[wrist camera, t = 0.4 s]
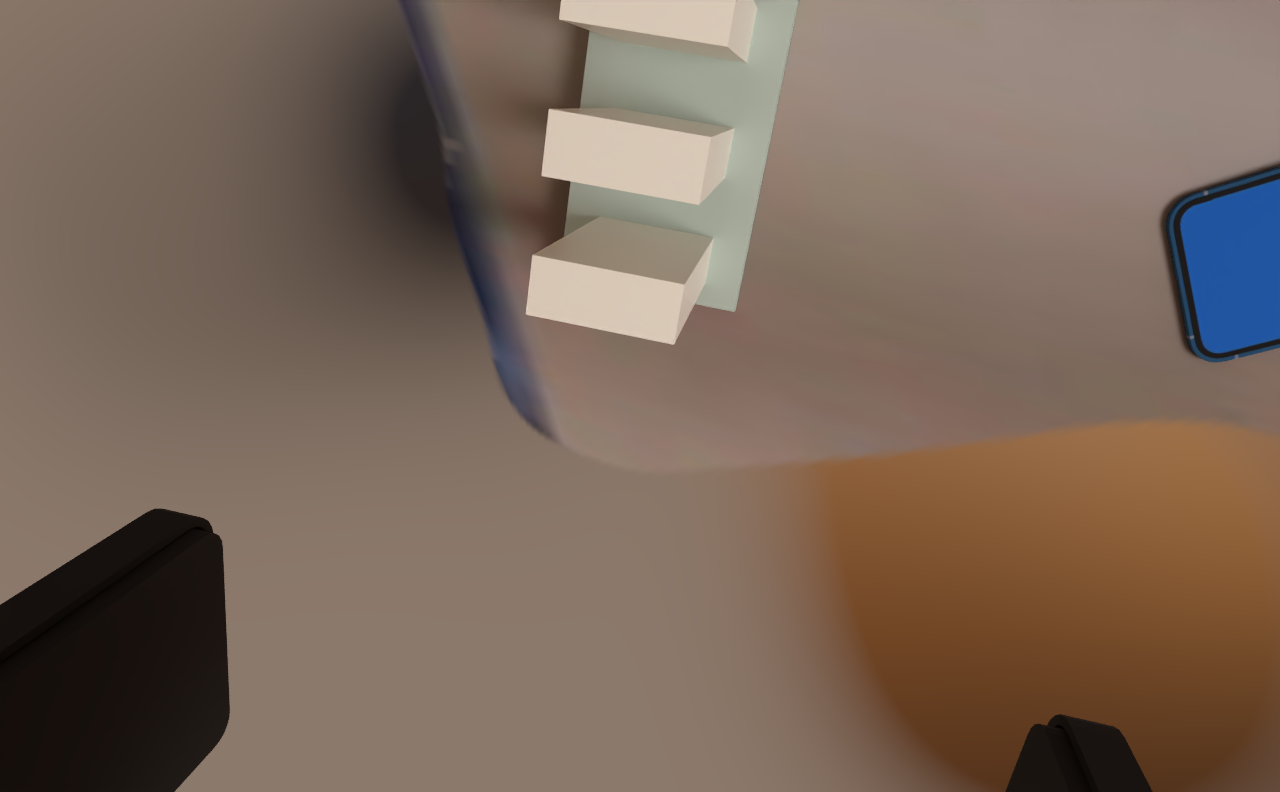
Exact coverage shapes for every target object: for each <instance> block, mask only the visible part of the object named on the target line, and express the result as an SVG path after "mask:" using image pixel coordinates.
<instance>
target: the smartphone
mask: <svg viewBox="0 0 1280 792" xmlns="http://www.w3.org/2000/svg"><path fill="white" fill-rule="evenodd" d="M1261 178H1262V179H1261ZM1251 181H1252V182H1251ZM1238 185H1239V186H1238ZM1228 188H1229V189H1228ZM1218 191H1219V192H1218ZM1215 192H1216V193H1215ZM1212 193H1213V194H1212ZM1208 194H1210V195H1208ZM1205 195H1206V196H1205ZM1202 196H1203V197H1202ZM1199 197H1200V198H1199ZM1196 198H1197V199H1196ZM1193 199H1194V200H1193ZM1191 200H1192V201H1191ZM1166 231H1167V237H1168V239H1169V244H1170V249H1171V251H1170V252H1171V254H1172V256H1171V257H1172V259H1173V261H1172V262H1173V268H1174V273H1175V278H1176V280H1177V284H1178V289H1179V294H1180V295H1179V300H1180V305H1181V309H1182V313H1183V318H1184V323H1185V331H1186V336H1187V341H1188V344H1189V347H1190V349H1191V350H1192V351H1193V353H1194V354H1196V355H1197V356H1198V357H1200V358H1202V359H1204V360H1206V361H1210V362H1223V361H1228V360H1232V359H1236V358H1240V357H1244V356H1248V355H1252V354H1256V353H1260V352H1264V351H1268V350H1272V349H1276V348H1280V166H1279V167H1276V168H1273V169H1269V170H1266V171H1263V172H1260V173H1256V174H1253V175H1250V176H1247V177H1243V178H1240V179H1237V180H1234V181H1230V182H1227V183H1224V184H1221V185H1218V186H1214V187H1211V188H1208V189H1205V190H1201V191H1198V192H1195V193H1192V194H1190V195H1187V196H1185V197H1183V198H1182V199H1180V200H1179V201H1178V202H1177V203H1176V204H1175V205H1174V206H1173V207H1172V208H1171V210H1170V212H1169V214H1168V217H1167V220H1166ZM1245 352H1246V353H1245ZM1241 353H1242V354H1241ZM1237 354H1238V355H1237ZM1233 355H1234V356H1233ZM1229 356H1230V357H1229ZM1224 357H1225V358H1224Z"/></svg>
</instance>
